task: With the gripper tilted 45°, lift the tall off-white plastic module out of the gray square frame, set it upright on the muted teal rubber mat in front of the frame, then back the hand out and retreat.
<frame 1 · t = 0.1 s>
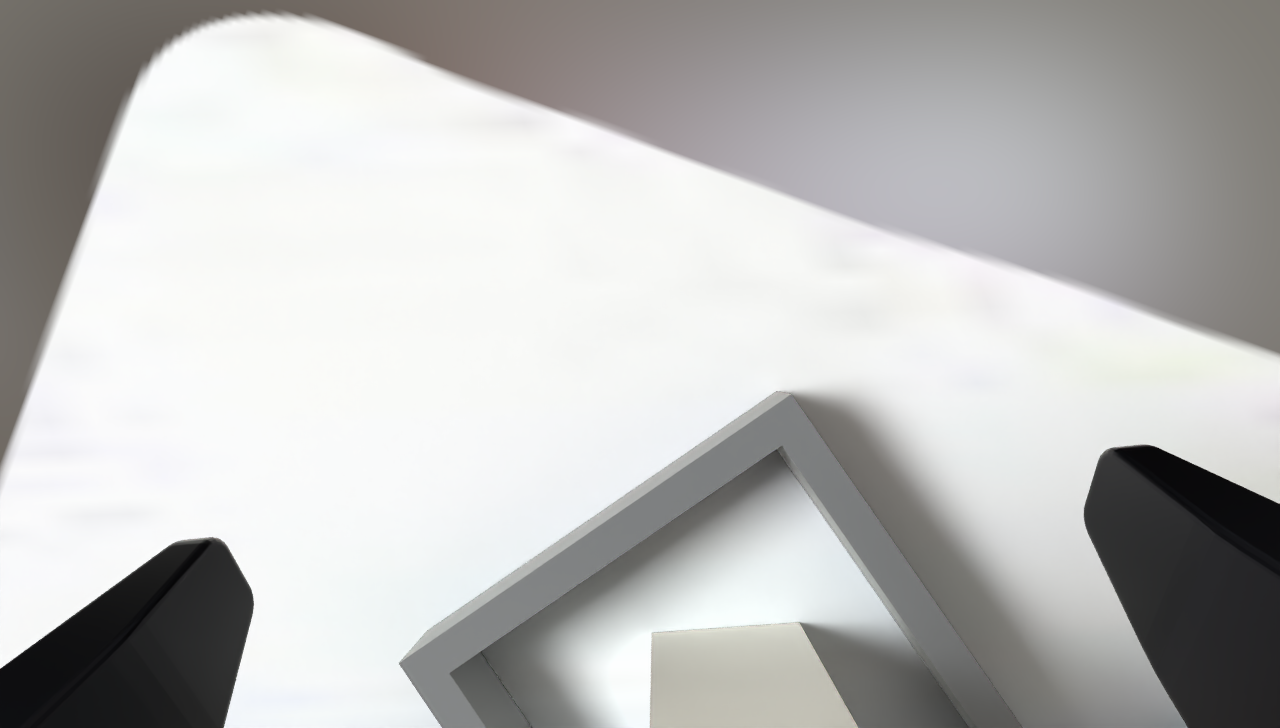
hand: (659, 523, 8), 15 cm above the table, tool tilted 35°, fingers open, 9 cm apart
gray square frame: (731, 701, 22), on the table
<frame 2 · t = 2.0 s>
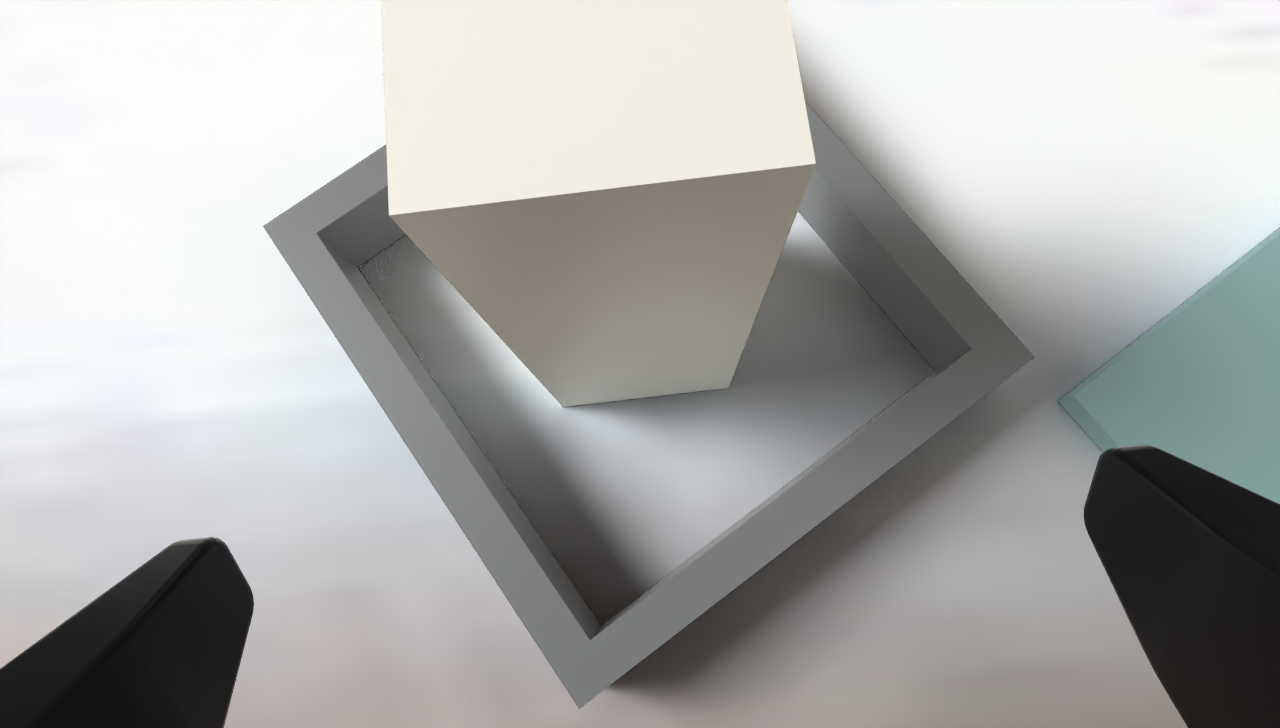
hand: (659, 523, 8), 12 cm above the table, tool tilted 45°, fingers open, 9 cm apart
gray square frame: (636, 317, 20), on the table
module: (620, 227, 14), in the gray square frame
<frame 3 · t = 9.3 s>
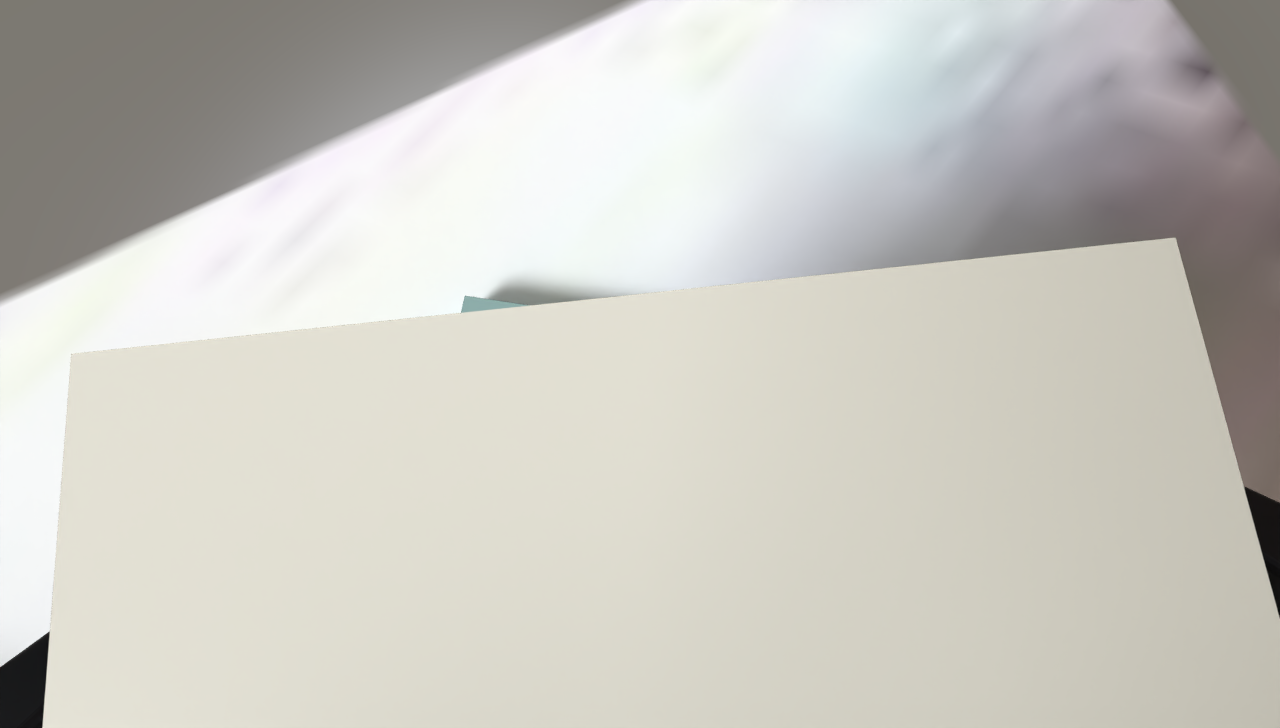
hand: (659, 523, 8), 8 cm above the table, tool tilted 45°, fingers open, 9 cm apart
module: (672, 644, 9), on the teal mat, point 7 cm above the table
teal mat: (673, 593, 15), on the table
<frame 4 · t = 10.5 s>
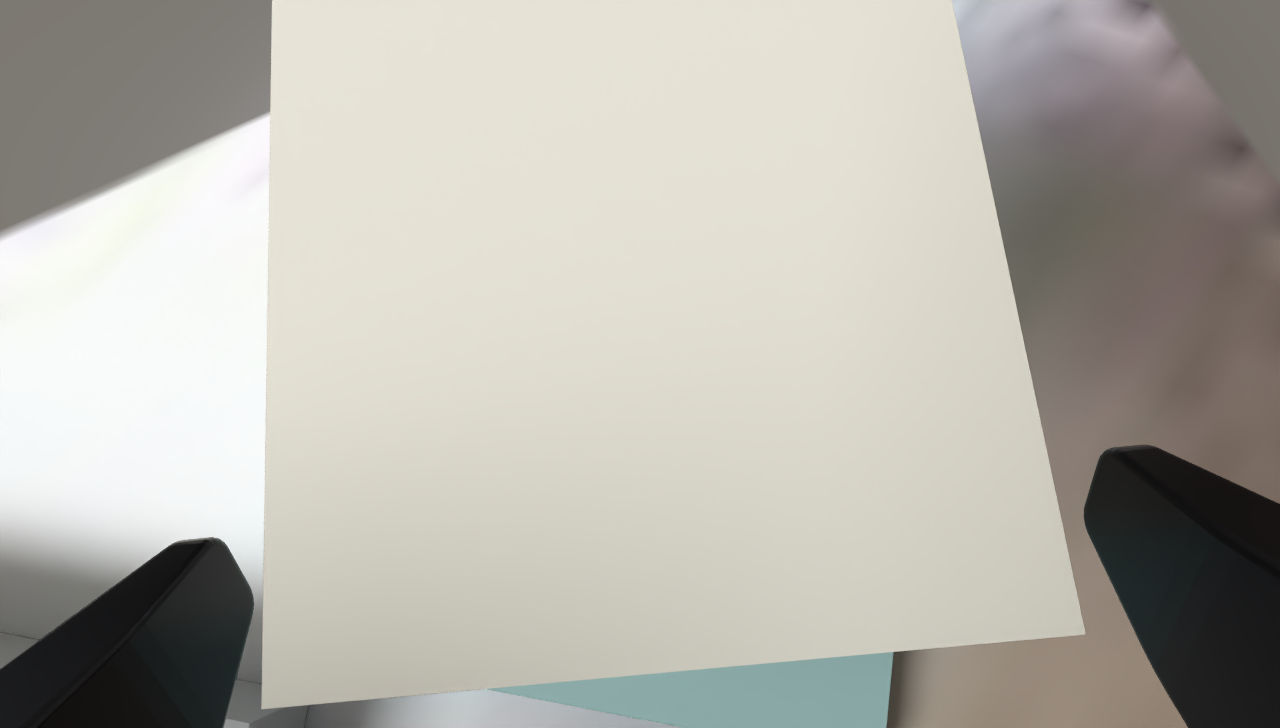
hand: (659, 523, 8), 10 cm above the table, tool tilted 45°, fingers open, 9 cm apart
module: (655, 419, 11), on the teal mat, point 7 cm above the table
teal mat: (662, 460, 17), on the table
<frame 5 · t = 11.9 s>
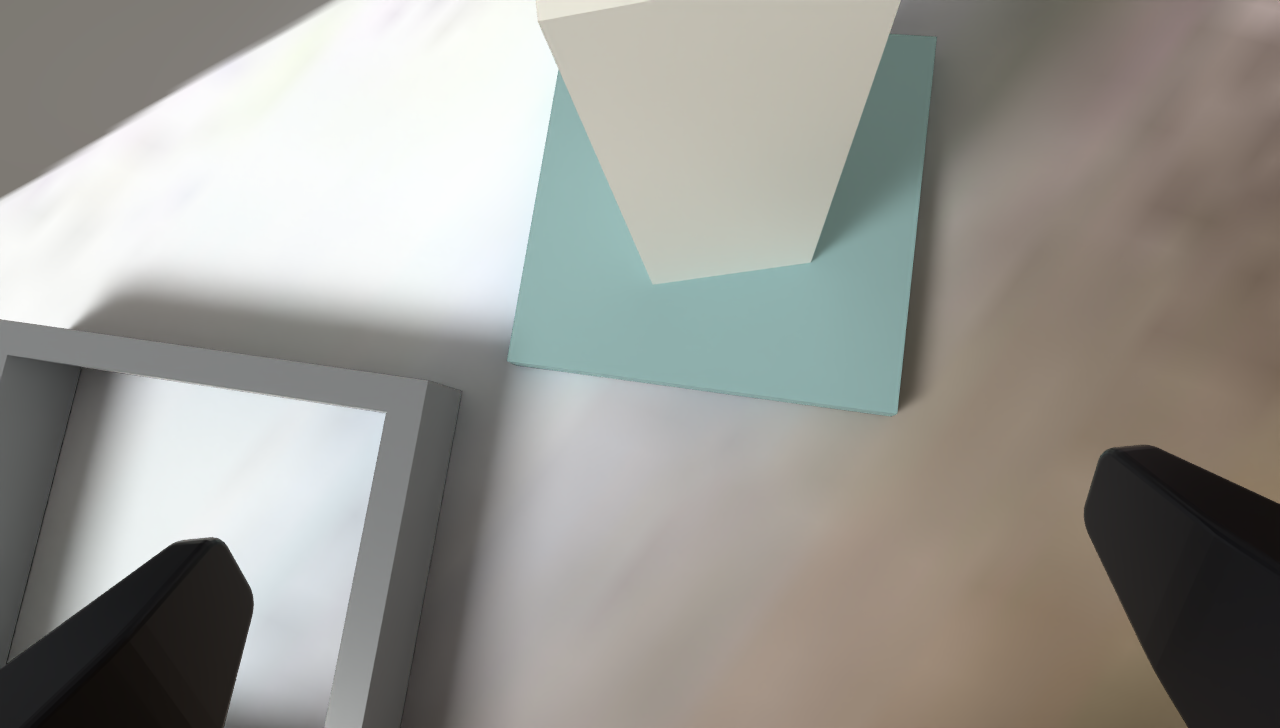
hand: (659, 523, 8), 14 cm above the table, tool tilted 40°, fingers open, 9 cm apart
gray square frame: (206, 569, 23), on the table
module: (714, 87, 15), on the teal mat, point 7 cm above the table
teal mat: (721, 209, 22), on the table
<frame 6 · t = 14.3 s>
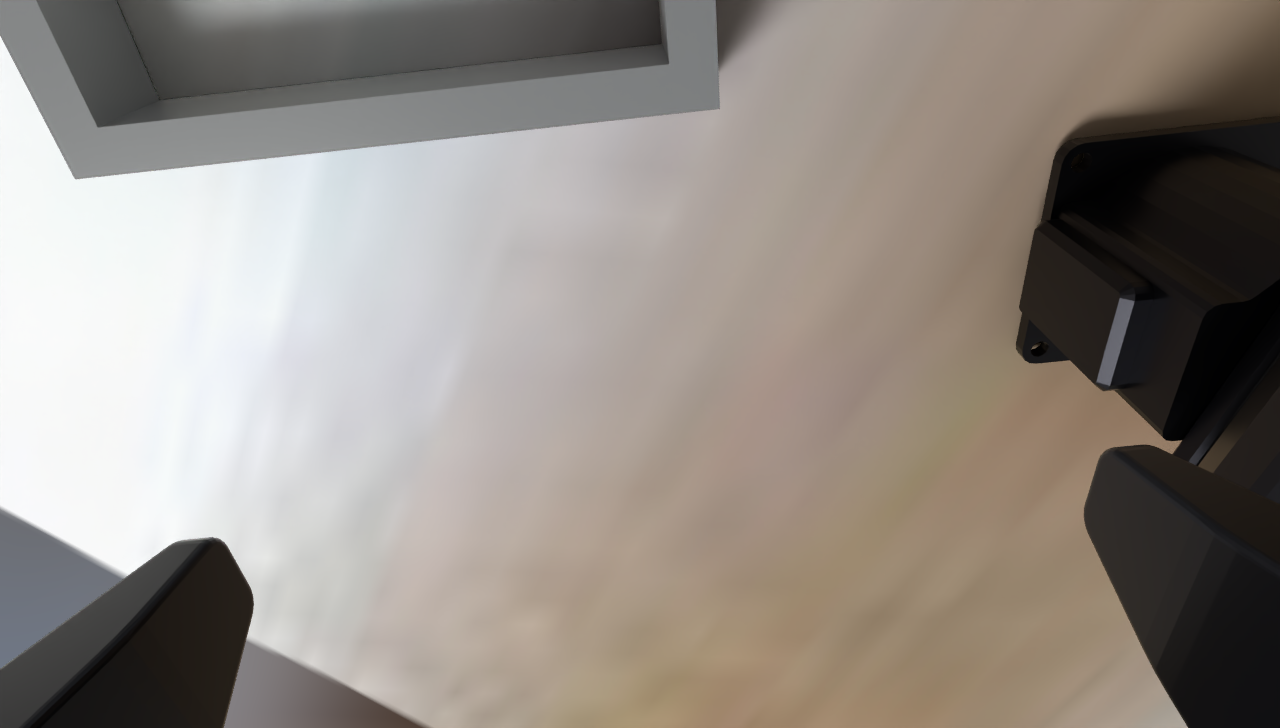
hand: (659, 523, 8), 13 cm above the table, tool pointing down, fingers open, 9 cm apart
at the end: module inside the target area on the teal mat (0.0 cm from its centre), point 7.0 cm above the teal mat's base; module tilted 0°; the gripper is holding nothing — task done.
